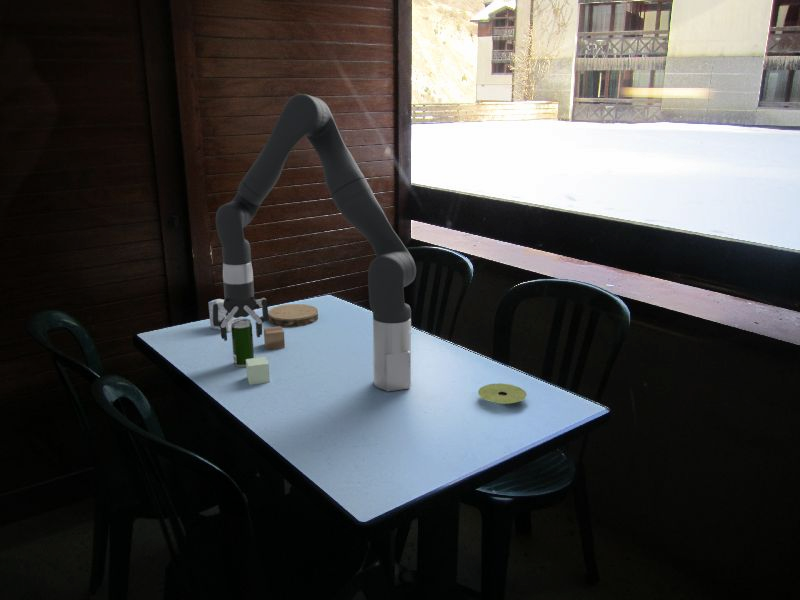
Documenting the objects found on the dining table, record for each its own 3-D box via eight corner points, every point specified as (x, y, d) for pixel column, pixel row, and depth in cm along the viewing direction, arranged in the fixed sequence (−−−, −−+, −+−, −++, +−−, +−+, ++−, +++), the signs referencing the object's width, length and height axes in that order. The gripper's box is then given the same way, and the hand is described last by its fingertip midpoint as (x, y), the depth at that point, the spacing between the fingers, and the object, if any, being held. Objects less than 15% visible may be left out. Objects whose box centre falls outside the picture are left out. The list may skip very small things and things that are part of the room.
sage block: (269, 382, 165) (268, 363, 164) (249, 384, 164) (248, 366, 162) (266, 374, 170) (265, 356, 168) (246, 377, 168) (245, 359, 167)
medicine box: (238, 328, 205) (237, 302, 202) (228, 332, 201) (226, 305, 199) (221, 324, 209) (218, 298, 206) (210, 328, 205) (207, 301, 203)
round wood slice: (272, 330, 204) (272, 321, 204) (265, 315, 219) (264, 306, 218) (323, 324, 209) (322, 315, 209) (312, 310, 224) (312, 302, 223)
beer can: (240, 369, 173) (237, 325, 170) (230, 363, 177) (226, 321, 173) (258, 363, 177) (255, 321, 173) (247, 358, 180) (244, 316, 177)
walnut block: (284, 348, 189) (284, 331, 187) (267, 350, 187) (266, 333, 186) (281, 342, 193) (281, 326, 192) (264, 344, 191) (263, 328, 190)
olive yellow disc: (486, 412, 148) (486, 405, 148) (471, 392, 159) (472, 385, 158) (533, 408, 151) (534, 400, 150) (515, 388, 161) (516, 381, 161)
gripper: (210, 285, 165) (215, 346, 169) (268, 280, 169) (271, 339, 174) (208, 277, 171) (213, 336, 176) (263, 273, 176) (266, 331, 181)
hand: (242, 338), depth 175 cm, fingers open, 8 cm apart
